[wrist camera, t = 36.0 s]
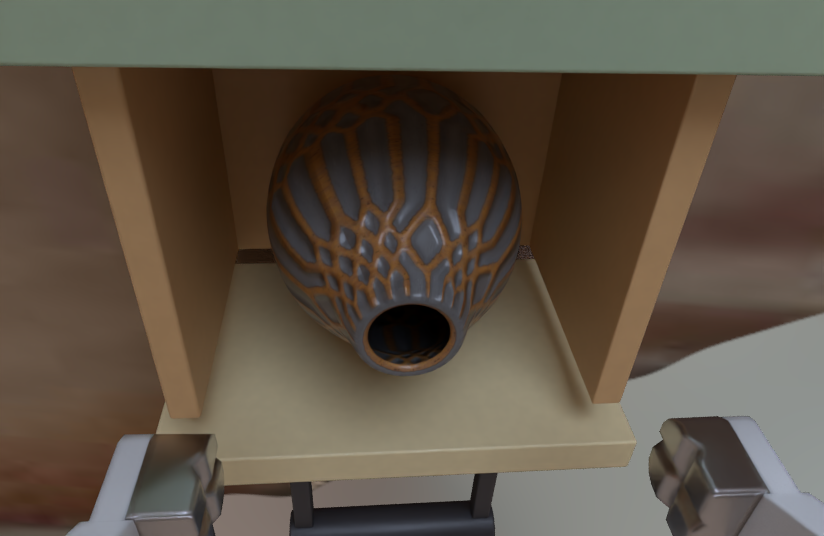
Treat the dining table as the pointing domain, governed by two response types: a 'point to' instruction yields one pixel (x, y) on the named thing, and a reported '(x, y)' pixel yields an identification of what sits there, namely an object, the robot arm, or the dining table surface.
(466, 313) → the vase
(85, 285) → the dining table surface
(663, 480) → the robot arm
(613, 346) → the drawer
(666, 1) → the cabinet
